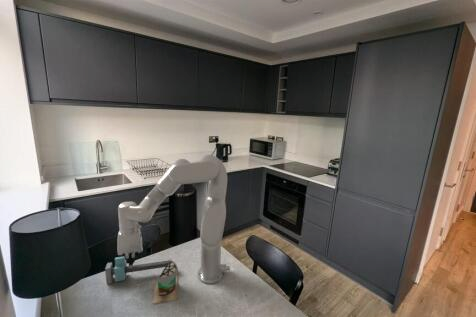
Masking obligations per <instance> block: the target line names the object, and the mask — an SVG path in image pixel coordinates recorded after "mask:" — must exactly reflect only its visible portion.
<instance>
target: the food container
mask: <svg viewBox="0 0 476 317" xmlns="http://www.w3.org/2000/svg"><path fill="white" fill-rule="evenodd" d="M168 260H169V263H168V265H167V266H166V267H164V268H163V270H162V271H161V274H160V275H159V276H157V277H156V280H157V282H158V290H159V296H165V295H168V294H170V293H172V292H173V291H174V289H175V286H176V277H177V275H178V272H179V268H178V266H177V263H176V262H175V261H173V260H172V261H171V260H170V259H168Z"/></svg>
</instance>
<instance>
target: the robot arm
mask: <svg viewBox="0 0 476 317" xmlns="http://www.w3.org/2000/svg"><path fill="white" fill-rule="evenodd" d="M205 182H206V183H207V192H206V198H205V201H204V205H203V214H202V220H201V224H200V233H199V234H200V235H199V237H200V241H201V242H200V268H198V271H197V279H198V280H199V281H201V282H202V283H204V284H211V285H212V284H215V283H218V282H219V281H221V279H222V278H223V276H224V272H225V271H230V270H231V267H230V265H227V264H226V263H223V264H221V263H222V262H221V261H222V258H221V257H222V256H221V254H222V250H221V249H222V238H223V234H224V229H225V223H226V218H227V205H226V195H227V187H228V173H227V168H226V167H225V164H224V163H223V162H222V160H221V159H219V157H217V156H215V155H213V154H206V155H204V156H202V157H201V159H200V161H197V162H190V161H189V160H187V159H185V158H179V159H177V160H176V161H174V163H173V164H172V165H171V166H170V167H169V168H168V169H167V171H166V172H165V173H164V174H163V175H162V177H160V179H159V180H158V181H157V183H155V186H153V188H152V189H151V190H150V191H149V192H148V194H147V195H146V196H145V197H144V198H143V199H142V201H141V202H140V203H139V204H138V205H137V203H136V202H135V201H123V202H121V203H120V204H119V205H118V207H117V212H118V213H117V214H118V227H119V228H118V229H119V231H118V233H117V234H118V235H117V241H116V242H117V244H116V246H117V249H116V250H117V255H118V256H122V257H124V256H125V260H126V265H128V266H133V265H134V263H136V262H135V260H136V258H135V257H136V256H137V255H138V254H140V253H143V251H144V249H143V237H142V232H141V229H142V224H141V225H140V224H139V223H147V222H149V221H150V220H151V219H152V217H153V216H154V214H155V212H156V211H157V209H158V208H159V207H160V205H161V204H162V203H163V202H164V200H165V199H166V198H167V197H169V196H173V194H175V192H177V190H178V189H179V188H180V187H181V185H188V184H197V183H205ZM130 253H131V254H130Z"/></svg>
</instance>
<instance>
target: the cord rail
mask: <svg viewBox="0 0 476 317" xmlns="http://www.w3.org/2000/svg"><path fill="white" fill-rule="evenodd" d="M169 260H171V261H173V259H172V258H171V259H168V260H161V261H154V262H149V263H142V264H141V263H139V264H135V265H134V264H133V266H129V265H128V266H126V267H125V273H127V274H128V273H134V272H141V271H147V270H148V271H149V270H155V269H160V268H165V267H166V266H167V265H168V263H169ZM114 268H115V267H114ZM114 268H113V262H107V264H106V265H105V268H104V271H105V281H106V284H107V285H110V284H112V283H113V280H114V276H115V272H114Z"/></svg>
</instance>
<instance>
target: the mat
mask: <svg viewBox="0 0 476 317" xmlns="http://www.w3.org/2000/svg"><path fill="white" fill-rule="evenodd" d="M178 290H179V288H178V276H176V286H175V289H174V291H173V292H172V293H170V294H168V295H165V296H159V290H158V282H157V279H156V280H154V288H153V304H152V305H157V304H161V303H167V302H172V301H178V300H179V291H178Z"/></svg>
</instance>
